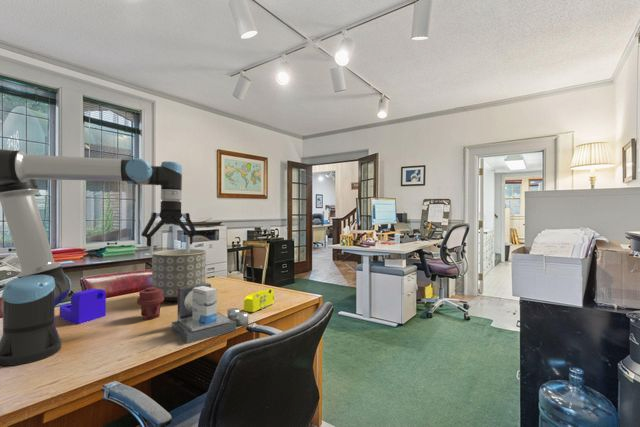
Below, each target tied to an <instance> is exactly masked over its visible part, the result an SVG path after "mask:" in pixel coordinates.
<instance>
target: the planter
mask: <svg viewBox="0 0 640 427" xmlns="http://www.w3.org/2000/svg"><path fill="white" fill-rule="evenodd" d="M206 255H207V254H206V250H205V249H198V248H197V249H194V248H190V253H186V248H185V249H183V248H180V249H167V250H165V249H163V250H159V251H157V250H156V251H153V255H151V262H152V264H151V287H156V288H159V289H162V296H164V300H166V301H170V302H178V287H185V286H191V285H198V284H205V283H206V266H207V265H206V261H207V260H206V259H207V258H206Z"/></svg>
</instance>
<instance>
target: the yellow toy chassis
mask: <svg viewBox="0 0 640 427" xmlns="http://www.w3.org/2000/svg"><path fill="white" fill-rule="evenodd" d="M274 303H275V290H274V289H273V288H268V289H266V290H265V289H261V290H259V291H256V292H253V293H250V294H248V295H246V296H245V297H244V299H243V311H245V312H247V313H255V312H257V311H258V310H264V308H265V309H267V307H269V306H271V305H272V304H274Z"/></svg>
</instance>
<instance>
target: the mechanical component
mask: <svg viewBox="0 0 640 427" xmlns="http://www.w3.org/2000/svg"><path fill="white" fill-rule="evenodd" d="M138 294H139V297H138V298H137V299H136V305H137V304H138V305H139V306H140V307H141V309H140V311H141V312H140V316H142V317H143V320H144V321H148V320H150V319H155V318H160V314H161V303H163V302H164V300H165V299H164V296H162V289H159V288H156V287H152V286H151V287H145V289H141V290H139V293H138Z"/></svg>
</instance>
